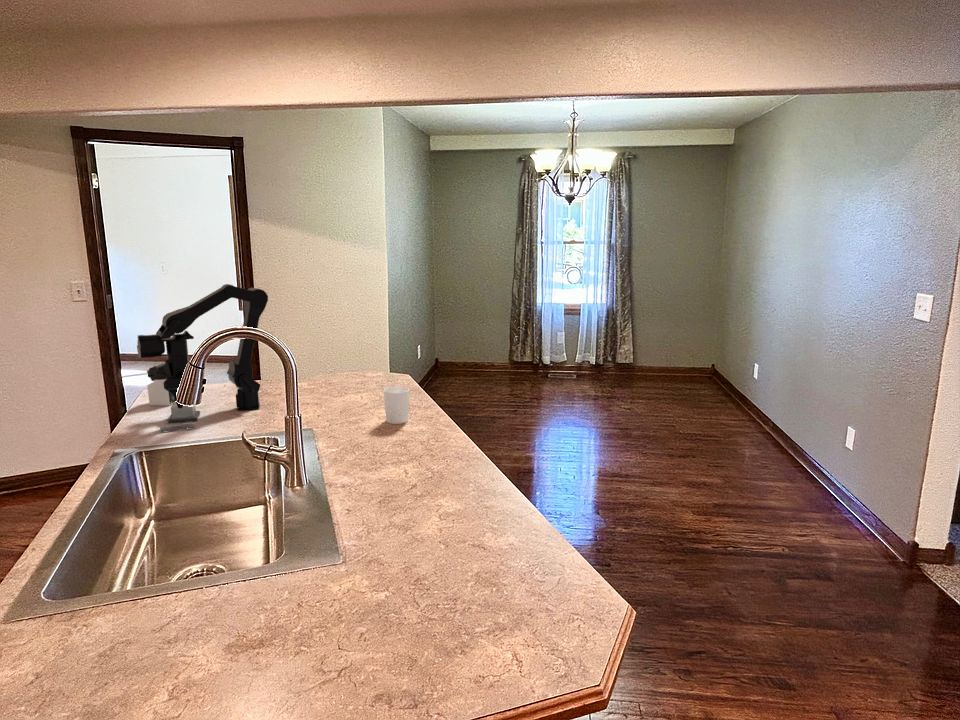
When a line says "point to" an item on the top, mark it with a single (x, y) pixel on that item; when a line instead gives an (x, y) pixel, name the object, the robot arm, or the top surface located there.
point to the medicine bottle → (159, 393)
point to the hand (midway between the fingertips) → (182, 404)
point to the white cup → (396, 404)
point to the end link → (182, 411)
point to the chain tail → (177, 427)
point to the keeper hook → (184, 418)
